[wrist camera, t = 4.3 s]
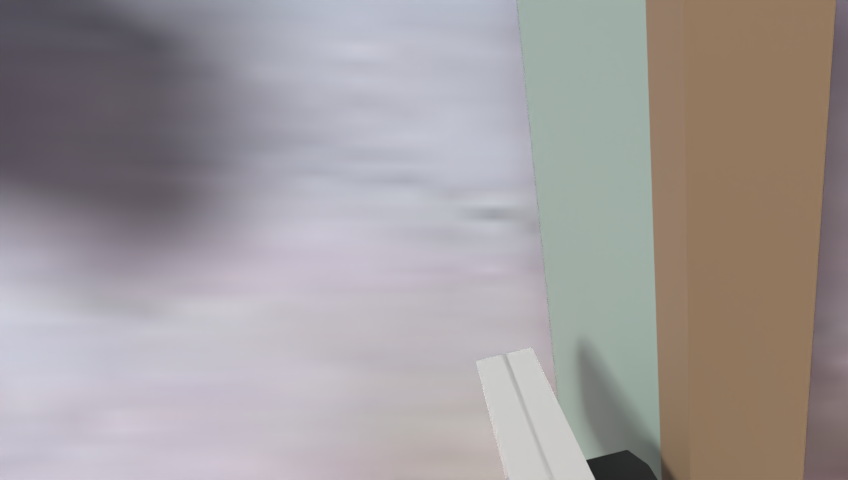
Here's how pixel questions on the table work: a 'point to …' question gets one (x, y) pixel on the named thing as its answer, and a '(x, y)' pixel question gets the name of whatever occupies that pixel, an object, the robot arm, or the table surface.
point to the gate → (681, 223)
